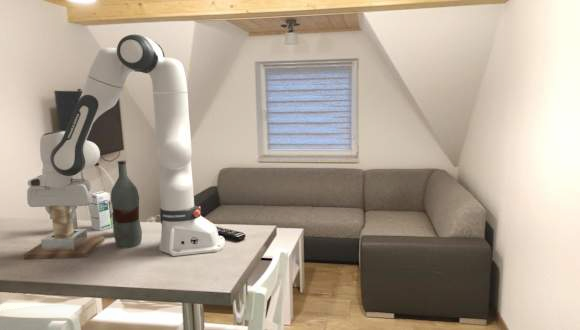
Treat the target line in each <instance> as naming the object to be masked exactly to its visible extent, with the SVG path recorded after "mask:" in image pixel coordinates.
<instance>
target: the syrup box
mask: <svg viewBox="0 0 580 330" xmlns="http://www.w3.org/2000/svg"><path fill="white" fill-rule="evenodd" d="M91 195H92V202H91V204H89V205H88V206H89V212H90V213H89V214H90V223H91V229H92V230H95V231H99V232H100V231H104V230H107V229H110V228H113V220H112V204H111V193H110V192H108V191H106V190H105V191H104V190H103V191H97V192H93V193H92V192H91Z"/></svg>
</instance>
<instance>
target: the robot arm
mask: <svg viewBox="0 0 580 330" xmlns="http://www.w3.org/2000/svg"><path fill="white" fill-rule="evenodd" d="M116 47H117V48H116ZM116 47H110V46H109V47H108V46H107V47H102V48H101V49H100V50H99V51H98V52H97V54H96V56H95V58H94V60H93V62H92V64H91V66H90V68H89V71H88V74H87V78H86V81H85V84H84V86H83V89H82V92H81V94H80V97H79V99H78V101H77V104H76V106H75V108H74V110H73V111H72V114H71V117H70V119H69V122H68V124H67V127H66V128H65V130H57V131H56V130H55V131H51V132H46V133H43V134H42V135H41V137H40V140H39V153H40V160H41V162H42V170H41V171H42V172H41V173H42V174H40V175H38V176H36V177H34V178H31V179H29V180H28V181H27V185H28V189H27V191H26V201H27V204H28V206H29V207H30V208H44V207H45V211H46V213H47V214H48V215H49V219H50V220H52V212H51V206H70V209H72V210H71V212H70V213H69V214H67V215H68V219H73V218H74V212H75V210H76V211H77V208H78V207H86V206H89V204H91V202H92V195H91V194H92V191H91V182H90V181H89V180H88V179H86V178H74V176H76V175H77V174H79V173H81V172H83V171H85V170H88V169H89V168H92V167H94V166H95V165H97V164H98V162H99V161H100V159H101V149H100V148H99V146H98V145H97V144H96V143H95V142H93V141H90V140H88V137H89V135H90V132H91V130H92V127H93V125H94V123H95V122H96V120H97V119H98V118H99V117H100V116H101V115H103V114H104V113H105V112H107V111H108V110H111V109H112V108H113V107H115V106H116V104H117V102H118V101H119V99H120V97H121V95H122V93H123V90H124V87H125V82H126V80H127V78H128V76H129V75H130V74H131V73H132V72H136V73H137V72H139V73H143V74H148V76H149V77H150V80H151V86H152V97H153V98H152V100H153V114H154V131H155V150H156V158H157V160H158V180H159V181H158V182H159V195H160V208H159V219H160V224H161V232H160V233H161V236H160V241H159V242H160V243H159V245H158V246H159V247H158V249H159V251H161V252H162V253H166V254H168V255H170V256H173V257H176V256H179V257H180V256H185V255H186V256H187V255H188V256H189V255H196V254H204V253H206V254H207V253H216V252H219V251H220V250H222V249H223V248H224V247H225V244H226V239H225V237H224V236H222V235H219V233H218V232H219V231H218V229H217V226H216V224H214V223H213V222H212V221H210V220H208V219H207V218H206V217H203V216H202V213H201V210H202V209H201V206H197V205H196V204H195V196H194V194H195V193H194V179H193V171H192V157H193V156H192V155H193V149H192V137H191V124H190V123H191V122H190V113H189V111H190V110H189V109H190V108H189V94H188V84H187V83H188V82H187V78H186V72H185V68H184V65H183V64H182V62H181V61H180V60H178V59H176V58H173V57H166V56H165V52H164V49H163V48H162V47H161V45H160V44H158V43H157V42H156V41H153V39H151V38H149V37H146V36H144V35H140V34H137V33H136V34H128V35H126V36H124V37H122V38H121V39H120V40H119V42H118V43H117V46H116Z"/></svg>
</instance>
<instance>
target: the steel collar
mask: <svg viewBox="0 0 580 330" xmlns="http://www.w3.org/2000/svg"><path fill="white" fill-rule="evenodd" d="M73 231H74V234H72V235H71V236H69V237H54V231H52V232H51V233H49V234H48V235H46V236H45V237H43V238H42V239H41V240H40V241H41V242H40V243H42V251H60V250H75V249H76V248H78V247H79V246H80V245H81V244H83V243H84V242H85V241H86V240H88V237H89V236H88V229H87V228H78V229H73Z"/></svg>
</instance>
